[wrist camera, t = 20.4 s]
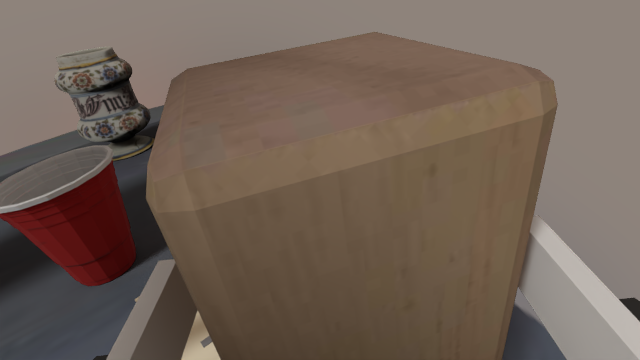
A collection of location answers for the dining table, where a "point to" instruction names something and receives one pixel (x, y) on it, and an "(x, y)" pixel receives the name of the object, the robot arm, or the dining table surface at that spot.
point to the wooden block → (352, 198)
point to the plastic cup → (73, 213)
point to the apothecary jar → (104, 100)
